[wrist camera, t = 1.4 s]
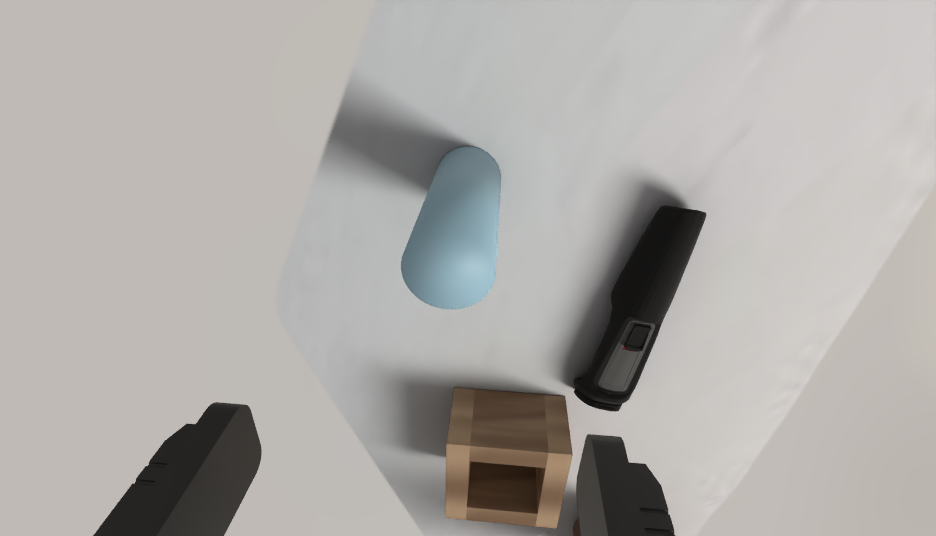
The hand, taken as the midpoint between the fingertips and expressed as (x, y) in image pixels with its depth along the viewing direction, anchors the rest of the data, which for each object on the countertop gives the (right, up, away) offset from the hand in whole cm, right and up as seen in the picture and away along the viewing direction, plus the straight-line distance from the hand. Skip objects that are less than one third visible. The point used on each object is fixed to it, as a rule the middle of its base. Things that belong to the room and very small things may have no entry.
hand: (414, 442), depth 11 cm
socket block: (+4, -8, +25) cm, 27 cm away
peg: (+1, +9, +15) cm, 18 cm away
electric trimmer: (+11, +2, +19) cm, 23 cm away
